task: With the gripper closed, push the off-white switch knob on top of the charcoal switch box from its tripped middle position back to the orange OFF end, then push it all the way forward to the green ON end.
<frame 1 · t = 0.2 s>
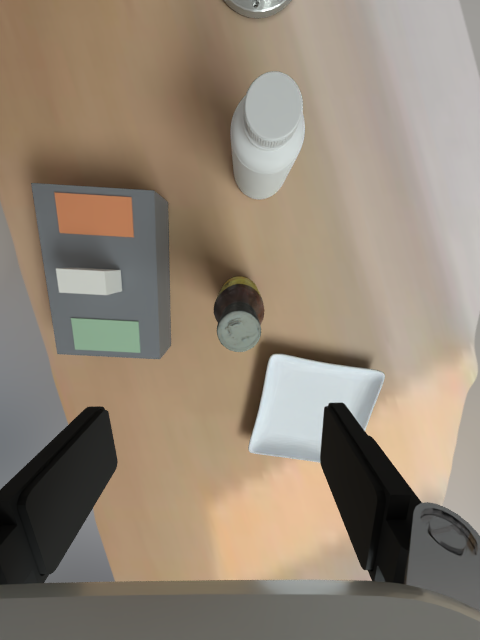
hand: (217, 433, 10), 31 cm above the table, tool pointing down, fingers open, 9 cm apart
switch knob: (91, 280, 31), point 8 cm above the table, slide at 0.0 cm
switch box: (122, 276, 39), on the table
pill bottle: (259, 172, 35), on the table
salad plate: (308, 403, 45), on the table
sauce bottle: (239, 294, 40), on the table
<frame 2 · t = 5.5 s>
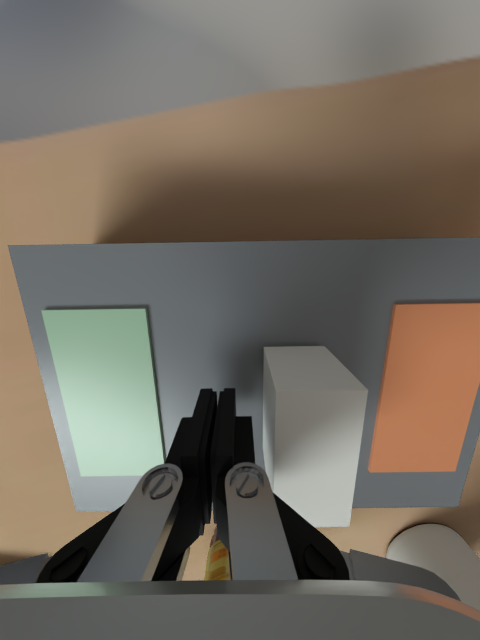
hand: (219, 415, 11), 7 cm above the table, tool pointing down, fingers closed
switch knob: (301, 426, 10), point 8 cm above the table, slide at -1.2 cm, touching gripper
switch box: (259, 353, 18), on the table
pill bottle: (420, 546, 24), on the table
sauce bottle: (238, 534, 23), on the table
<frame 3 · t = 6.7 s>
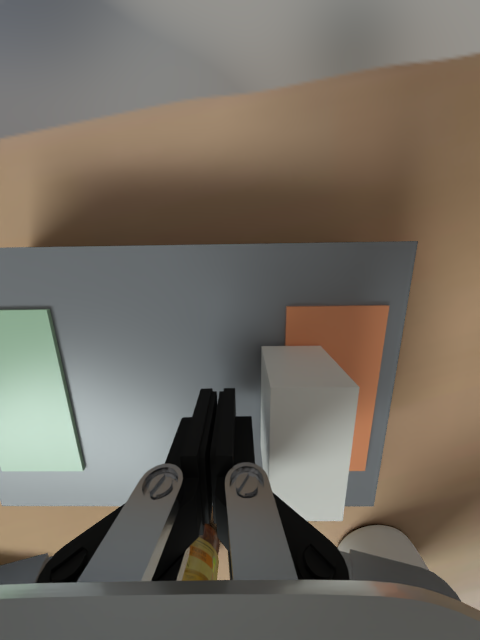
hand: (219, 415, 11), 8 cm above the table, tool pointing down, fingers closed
switch knob: (297, 423, 10), point 8 cm above the table, slide at -6.2 cm, touching gripper
switch box: (196, 353, 19), on the table
pill bottle: (371, 547, 24), on the table
sauce bottle: (189, 533, 24), on the table
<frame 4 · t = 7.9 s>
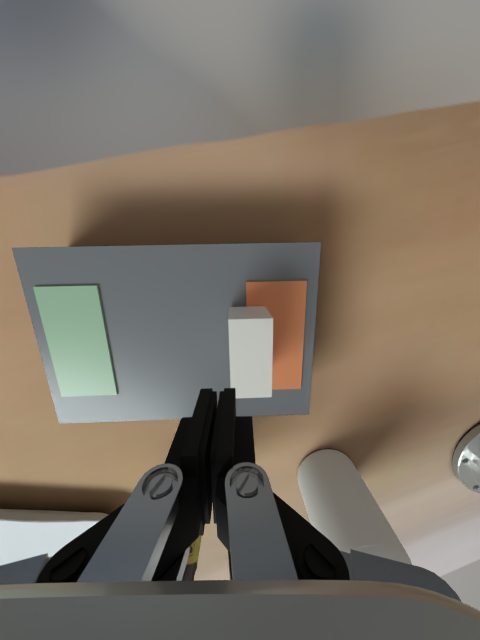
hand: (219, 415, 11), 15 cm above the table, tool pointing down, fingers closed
switch knob: (249, 349, 18), point 8 cm above the table, slide at -6.1 cm
switch box: (190, 322, 26), on the table
pill bottle: (323, 468, 32), on the table
salad plate: (58, 544, 35), on the table
sauce bottle: (187, 462, 31), on the table
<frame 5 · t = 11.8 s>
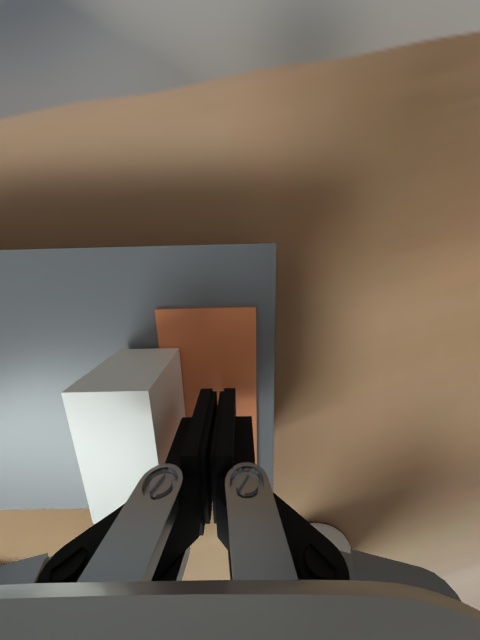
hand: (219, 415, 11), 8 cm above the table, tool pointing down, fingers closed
switch knob: (140, 425, 10), point 8 cm above the table, slide at -5.5 cm, touching gripper
switch box: (116, 356, 19), on the table
pill bottle: (310, 545, 24), on the table
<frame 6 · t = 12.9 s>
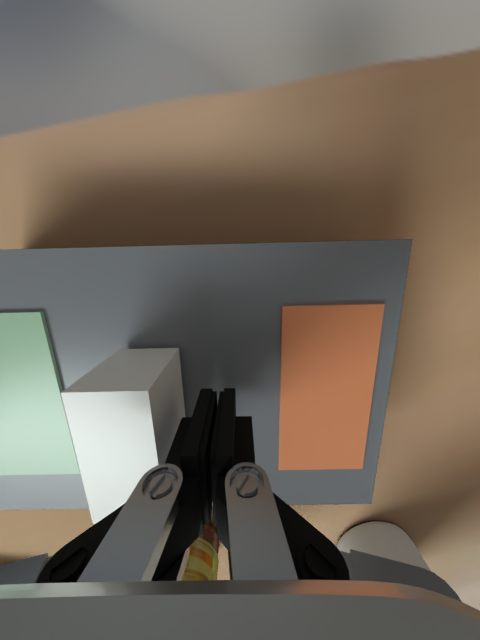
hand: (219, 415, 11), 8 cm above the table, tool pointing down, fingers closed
switch knob: (140, 425, 10), point 8 cm above the table, slide at 0.8 cm, touching gripper
switch box: (193, 354, 18), on the table
pill bottle: (370, 544, 24), on the table
sauce bottle: (189, 532, 24), on the table
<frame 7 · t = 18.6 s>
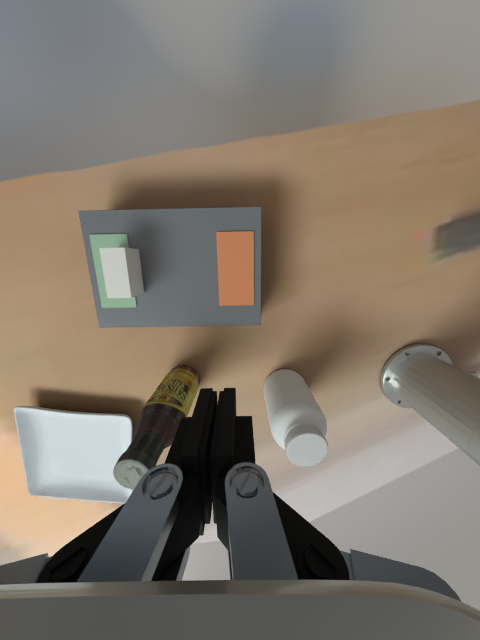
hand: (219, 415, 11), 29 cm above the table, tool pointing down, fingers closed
switch knob: (123, 272, 30), point 8 cm above the table, slide at 6.1 cm
switch box: (185, 269, 38), on the table
pill bottle: (284, 386, 43), on the table
salad plate: (88, 445, 47), on the table
sauce bottle: (183, 378, 43), on the table
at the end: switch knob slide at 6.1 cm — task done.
